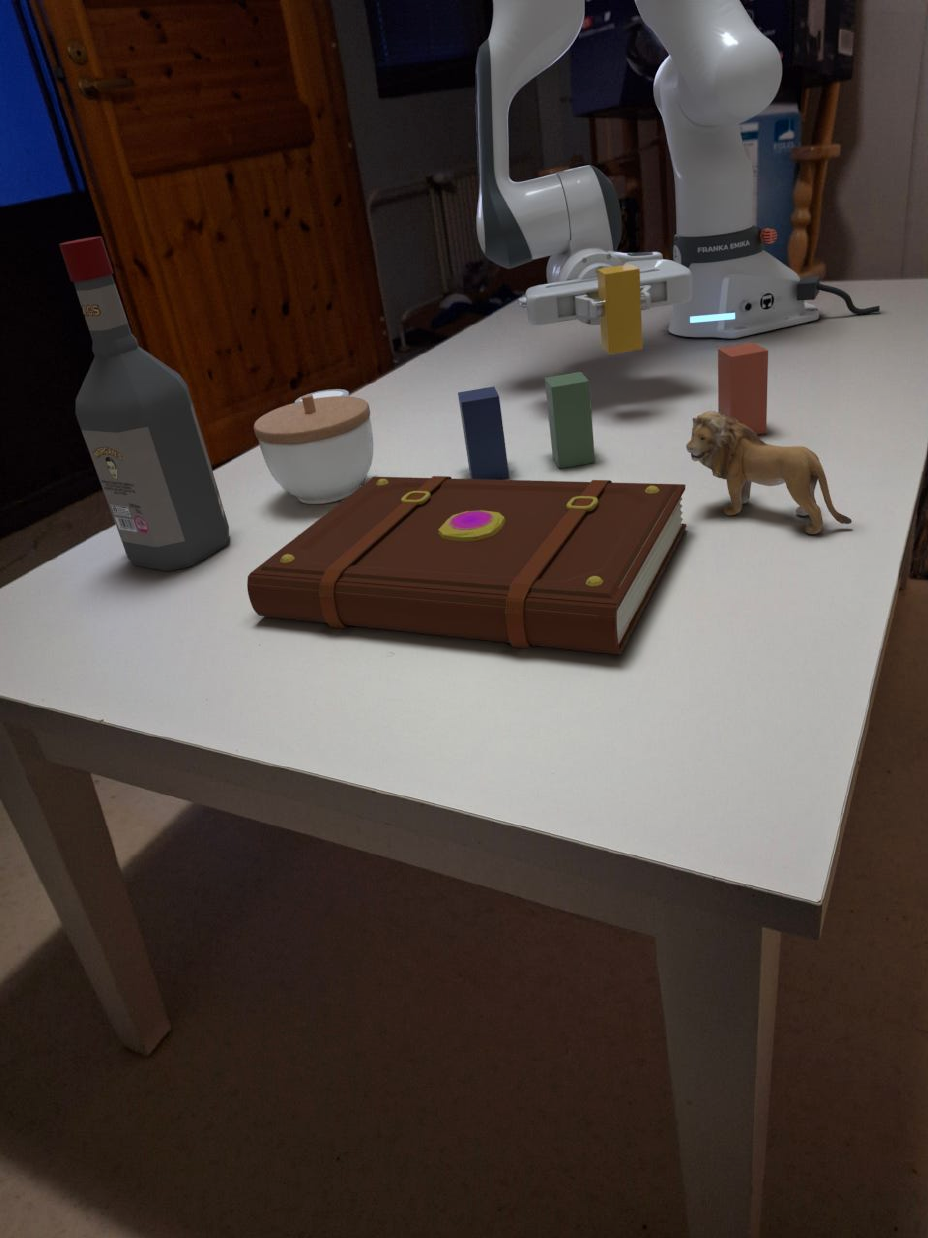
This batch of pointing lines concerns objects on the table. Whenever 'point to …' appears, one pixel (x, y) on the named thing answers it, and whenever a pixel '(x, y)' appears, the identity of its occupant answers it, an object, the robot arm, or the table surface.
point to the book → (481, 560)
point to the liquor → (142, 431)
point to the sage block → (570, 419)
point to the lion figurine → (759, 465)
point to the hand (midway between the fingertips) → (621, 305)
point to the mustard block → (620, 308)
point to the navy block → (484, 433)
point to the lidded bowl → (318, 446)
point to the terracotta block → (744, 384)
